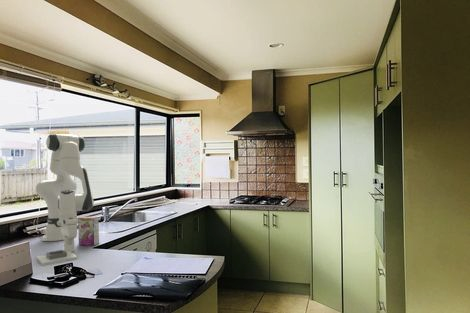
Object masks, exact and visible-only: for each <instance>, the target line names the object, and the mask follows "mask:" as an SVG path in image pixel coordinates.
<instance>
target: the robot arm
mask: <svg viewBox="0 0 470 313" xmlns="http://www.w3.org/2000/svg"><path fill="white" fill-rule="evenodd" d="M45 144H46V147H47V149H48V150H49V151H52V152H51V157H50V165H49V171H50V172H51V173H52V174H53V175H56V178H55V179H46V180H45V179H44V180H41V181H39V182H38V183H37V184H36V185H35V192H36V194H37V196H38V197H39V198H42V199H43V200H44V201H45V204H46V207H47V215H48V216H47V217H48V218H47V225H46V227H45V228H44V229H43V231H42V232H43V234H44V235H42V240H41V242H56V241H64V238H63V237H65V236H67V237H68V245H72V241H73V238H74V239H76V238H77V235H78V217H77V216H78V215H77V214H78V212H80V211H82V212H90V210H92V209H93V208H94V204H95V201H94V198H93V195H92V191H91V186H90V185H91V184H90V182H89V176H88V172H87V169H86V168H85V167H83V165H82V164H81V156H80V155H81V154H80V152H82V151H84V150H85V147H86V141H85V138H84V137H83V136H80V135H74V134H69V133H67V134H65V133H61V134H60V133H59V134H57V133H51V134H49V135H48V136H47V138H46V141H45ZM71 176H72V177H76V178H78V179H79V180H80V182H81V185H82V190H83V193H82V194H76V190H77V188H78V186H77V182H76V181H75V179H73V178H72V177H71Z"/></svg>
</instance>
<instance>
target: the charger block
mask: <svg viewBox="0 0 470 313" xmlns="http://www.w3.org/2000/svg"><path fill="white" fill-rule="evenodd" d="M63 238H64V240H63V250H64V251H70V252H75V238H73V241H72V245H68V237H67V236H65V237H63Z"/></svg>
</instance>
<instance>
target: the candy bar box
mask: <svg viewBox="0 0 470 313" xmlns="http://www.w3.org/2000/svg"><path fill="white" fill-rule="evenodd" d="M77 219H78V223H77V235H78V245H79V246H96V245H98V244H99V245H100V234H99V233H100V229H99V228H100V227H99V216H81V217H77Z"/></svg>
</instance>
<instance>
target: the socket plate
mask: <svg viewBox="0 0 470 313" xmlns="http://www.w3.org/2000/svg"><path fill="white" fill-rule="evenodd" d="M35 258H36V260H37V261H38V263H39V264H40V265H41V266H47V265H51V264H56V263H57V264H58V263H63V262H67V261H73V260H78V256H77V255H76V254H75V253H73V251H71V252H70V251H64V249H60V250H55V251H48V252H46V254H43V255H37V256H35Z"/></svg>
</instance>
